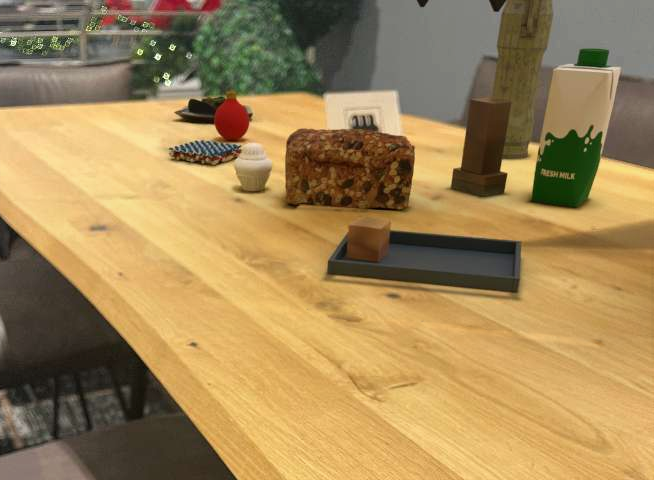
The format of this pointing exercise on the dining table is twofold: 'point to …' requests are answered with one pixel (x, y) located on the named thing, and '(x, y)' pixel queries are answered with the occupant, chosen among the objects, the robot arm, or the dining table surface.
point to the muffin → (253, 167)
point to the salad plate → (204, 110)
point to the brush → (483, 148)
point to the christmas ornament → (231, 118)
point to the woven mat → (206, 152)
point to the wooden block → (368, 239)
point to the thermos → (521, 67)
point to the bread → (348, 168)
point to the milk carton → (575, 129)
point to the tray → (438, 261)
